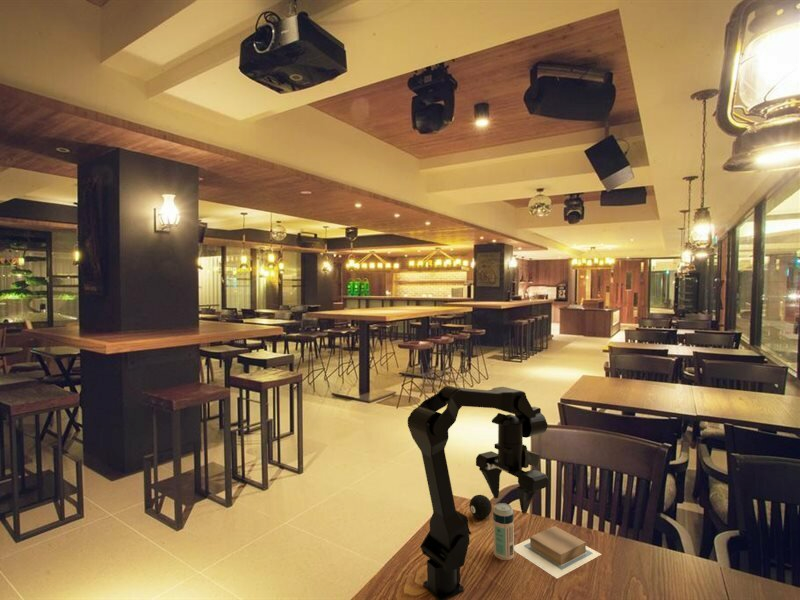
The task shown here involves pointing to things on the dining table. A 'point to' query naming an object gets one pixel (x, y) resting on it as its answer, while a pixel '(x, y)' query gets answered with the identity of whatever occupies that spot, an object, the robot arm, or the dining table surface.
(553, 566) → the white flat square slab
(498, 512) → the beer can
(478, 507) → the billiard ball
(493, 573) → the dining table surface
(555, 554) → the base block
